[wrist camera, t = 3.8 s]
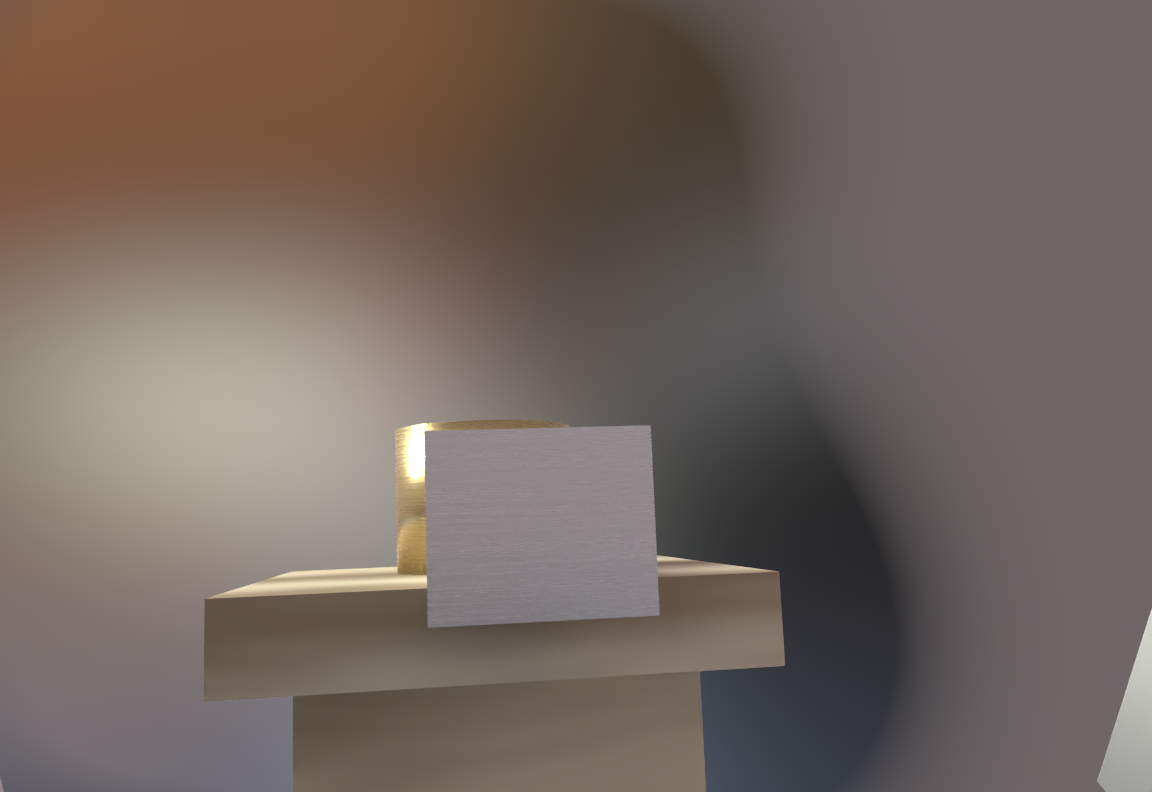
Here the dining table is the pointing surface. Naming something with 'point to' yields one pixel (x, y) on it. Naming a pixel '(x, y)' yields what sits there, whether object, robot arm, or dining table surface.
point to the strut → (527, 520)
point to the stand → (488, 681)
